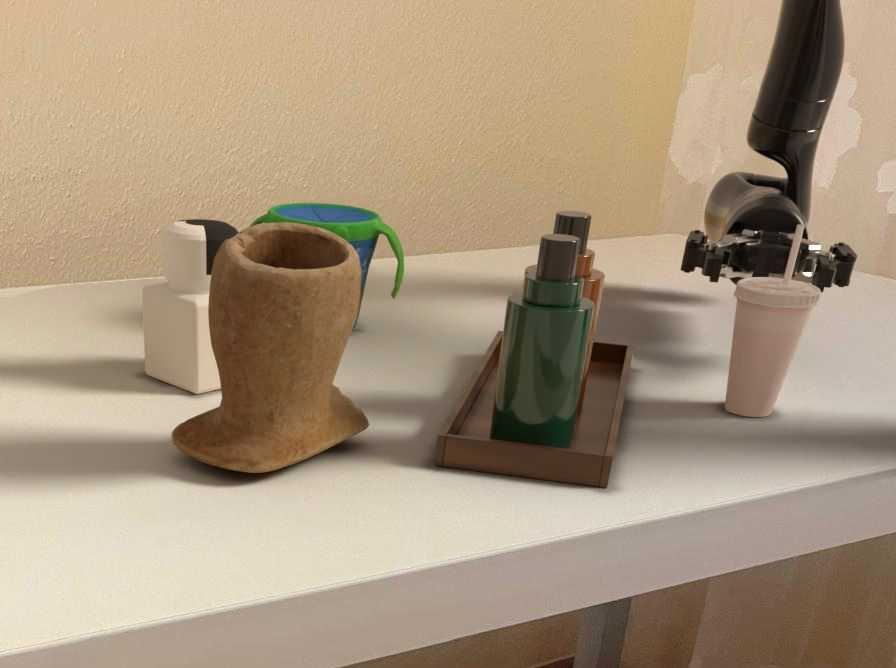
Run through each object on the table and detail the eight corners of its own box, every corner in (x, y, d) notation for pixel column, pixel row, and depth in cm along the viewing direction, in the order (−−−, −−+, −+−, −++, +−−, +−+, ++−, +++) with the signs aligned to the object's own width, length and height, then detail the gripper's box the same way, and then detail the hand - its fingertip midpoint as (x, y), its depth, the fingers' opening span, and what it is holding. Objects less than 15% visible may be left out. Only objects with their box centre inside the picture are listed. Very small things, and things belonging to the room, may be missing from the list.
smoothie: (802, 421, 97) (855, 233, 89) (729, 423, 96) (775, 233, 88) (764, 397, 102) (811, 217, 94) (694, 398, 101) (735, 217, 93)
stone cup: (277, 503, 78) (283, 257, 70) (149, 458, 84) (141, 226, 76) (410, 448, 88) (430, 226, 79) (287, 411, 94) (294, 201, 85)
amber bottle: (597, 407, 96) (631, 216, 88) (551, 421, 93) (582, 224, 84) (538, 389, 99) (566, 204, 91) (491, 402, 96) (516, 211, 88)
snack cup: (411, 324, 118) (421, 211, 112) (379, 349, 110) (387, 229, 104) (265, 305, 122) (267, 195, 117) (223, 328, 114) (223, 211, 108)
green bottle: (587, 446, 88) (624, 240, 80) (536, 463, 85) (569, 249, 77) (523, 425, 92) (552, 225, 83) (472, 440, 88) (497, 234, 80)
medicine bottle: (209, 361, 105) (207, 211, 98) (262, 380, 101) (265, 225, 94) (143, 375, 101) (137, 219, 94) (196, 395, 97) (194, 234, 90)
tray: (495, 355, 110) (498, 330, 109) (629, 369, 107) (634, 344, 106) (434, 465, 85) (437, 435, 84) (607, 488, 83) (613, 456, 82)
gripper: (694, 190, 112) (692, 218, 100) (853, 202, 109) (873, 233, 97) (676, 275, 117) (672, 312, 104) (829, 289, 114) (845, 329, 101)
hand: (769, 274), depth 100 cm, fingers open, 8 cm apart
